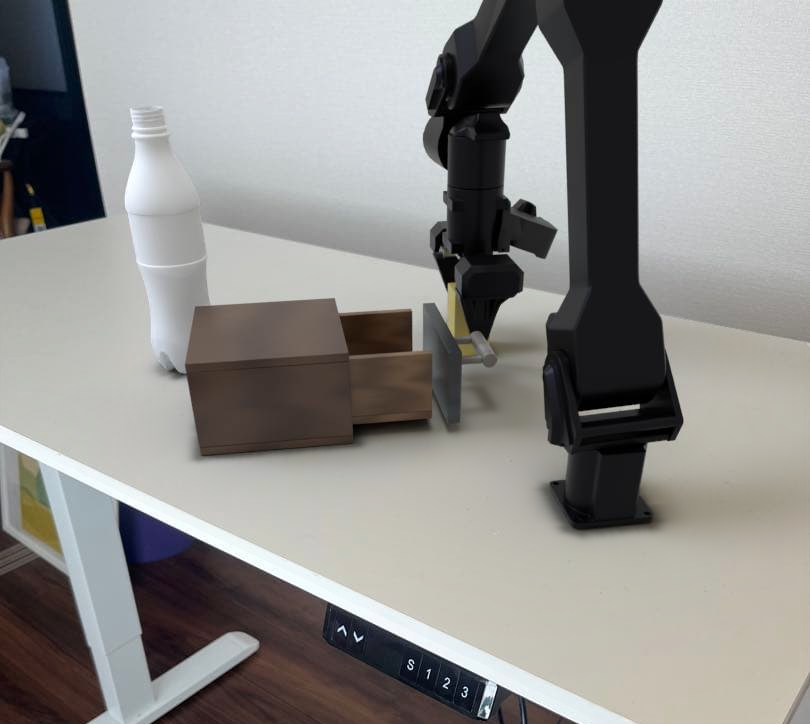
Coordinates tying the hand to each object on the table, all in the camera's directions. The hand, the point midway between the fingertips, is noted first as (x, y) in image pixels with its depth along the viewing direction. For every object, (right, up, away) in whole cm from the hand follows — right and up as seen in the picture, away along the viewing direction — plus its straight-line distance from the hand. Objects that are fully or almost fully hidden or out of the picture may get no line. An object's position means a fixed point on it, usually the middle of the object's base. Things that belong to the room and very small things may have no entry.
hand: (470, 333), depth 91 cm
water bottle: (-31, -4, -2) cm, 31 cm away
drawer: (-7, -9, -11) cm, 16 cm away
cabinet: (-20, -11, -12) cm, 26 cm away
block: (0, -2, +1) cm, 2 cm away
